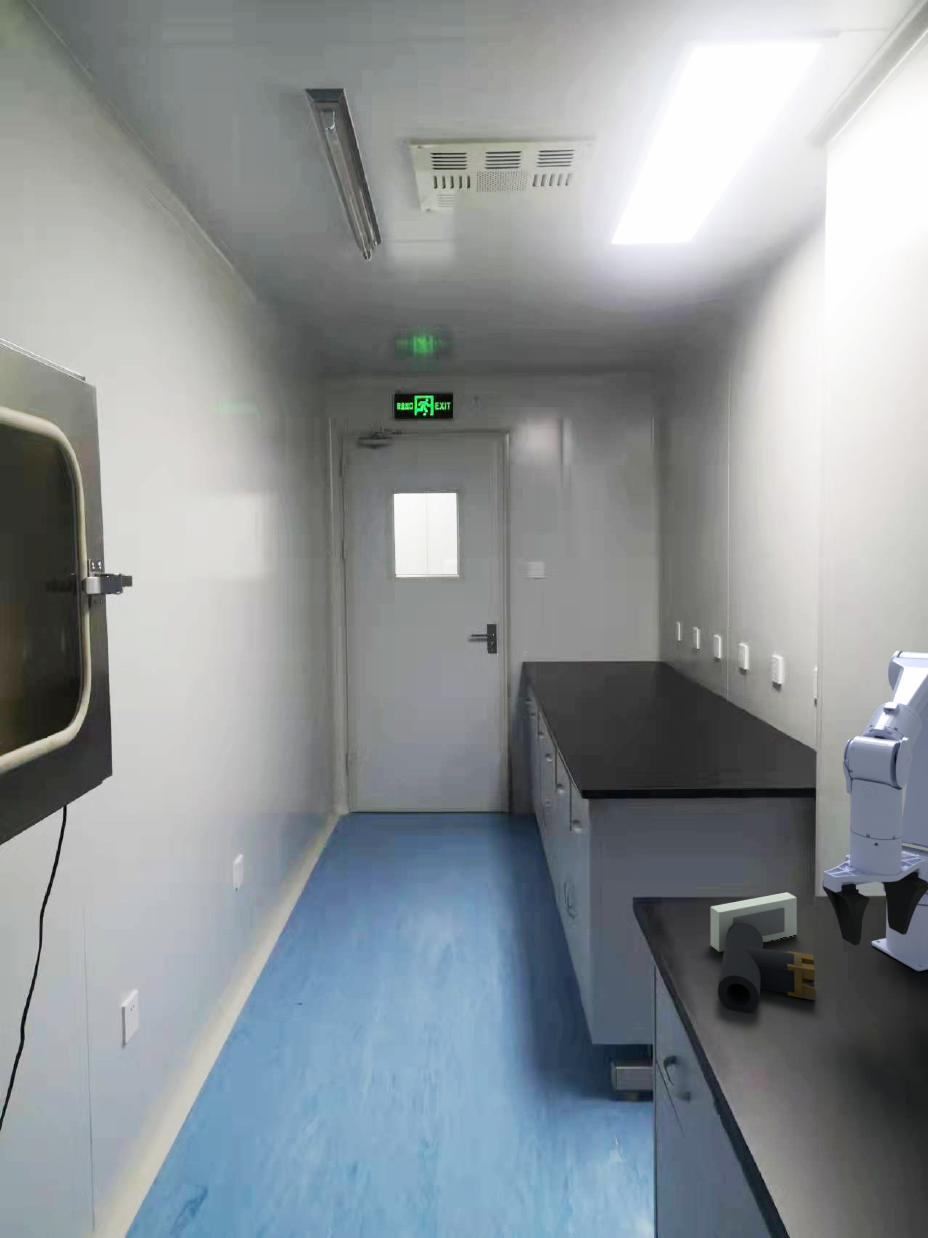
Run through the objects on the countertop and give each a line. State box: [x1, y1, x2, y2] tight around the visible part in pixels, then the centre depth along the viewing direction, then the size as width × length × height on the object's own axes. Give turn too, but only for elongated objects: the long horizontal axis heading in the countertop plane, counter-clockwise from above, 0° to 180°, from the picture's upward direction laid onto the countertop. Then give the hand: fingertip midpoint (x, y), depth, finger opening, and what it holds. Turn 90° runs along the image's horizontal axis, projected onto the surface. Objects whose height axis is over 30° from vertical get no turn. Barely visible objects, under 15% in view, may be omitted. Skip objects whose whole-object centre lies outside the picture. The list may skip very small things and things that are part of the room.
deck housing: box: [710, 891, 798, 953], centre depth 110 cm, size 14×2×6 cm, turn 107°
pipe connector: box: [717, 923, 816, 1014], centre depth 98 cm, size 12×5×15 cm
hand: (874, 936), depth 93 cm, fingers open, 7 cm apart
